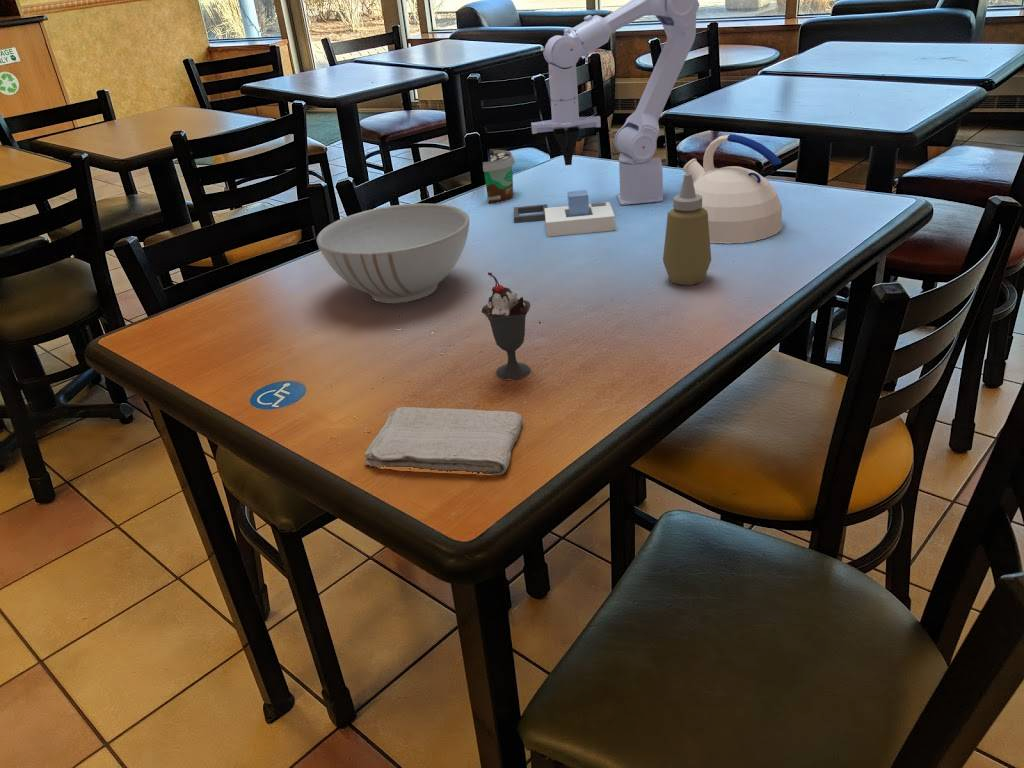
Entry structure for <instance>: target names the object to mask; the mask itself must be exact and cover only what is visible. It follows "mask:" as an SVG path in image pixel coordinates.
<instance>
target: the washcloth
mask: <svg viewBox="0 0 1024 768" xmlns="http://www.w3.org/2000/svg"><path fill="white" fill-rule="evenodd" d="M386 417H387V418H386V419H387V420H386V422H385V424H384V425H383V426H382V428H381V429H380V430H379V432H378V434H376V436H375V437H374V439H373V440H372V441H371V443H370V445H369V447H367V449H366V451H364V457H365V460H364V464H365V465H366V466H367V465H370V466H369V467H371V466H376V467H377V466H378V467H381V466H383V467H384V466H386V467H413V468H419V469H430V470H438V471H443V470H444V471H447V472H448V471H450V472H451V471H466V472H472V473H473V472H477V474H479V473H480V472H482V473H483V474H491V475H498V476H501V475H503V474H505V473H506V471H507V469H509V465H510V461H511V455H512V450H513V447H514V445H515V444H516V443H515V442H517V440H518V439H519V435H520V433H521V430H522V425H523V423H524V422H523V421H524V420H523V416H522V415H521V414H520V413H518V412H515V411H504V410H503V411H502V410H483V409H481V410H480V409H472V408H471V409H466V408H458V409H457V408H454V407H453V408H446V407H444V408H443V407H442V408H440V407H438V408H433V407H431V408H429V407H415V406H410V407H408V406H401V407H397V408H396V409H395V410H394V411H391V412H390V413H388V414H387V416H386ZM514 443H515V444H514ZM376 467H375V468H376ZM409 469H410V468H409ZM410 470H411V469H410Z"/></svg>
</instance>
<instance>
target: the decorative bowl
mask: <svg viewBox="0 0 1024 768" xmlns="http://www.w3.org/2000/svg"><path fill="white" fill-rule="evenodd" d="M469 228H470V217H469V214H467V212H466V211H464V210H463V209H461V208H459V207H456V206H452V205H447V204H439V203H405V204H397V205H396V204H395V205H389V206H383V207H377V208H373V209H372V208H371V209H368V210H363V211H361V212H357V213H354V214H353V213H352V214H350V215H347V216H345V217H342V218H339V219H338V220H335V221H334V222H332V223H330V224H328V225H327V226H325V227H324V228H323V229H322V230H321V231H320V232H319V233H318V234H317V236H316V244H317V247H318V249H319V250H320V252H321V254H322V256H323V258H324V259H325V260H326V263H328V265H329V267H331V268H332V270H333V271H334V272H335V273H336V274H337V275H338V276H339V277H340V278H341V279H342V280H343V281H345V282H346V283H347V284H349V285H350V286H352V287H354V288H355V289H357V290H359V291H360V292H363V293H366V294H368V295H370V296H372V297H373V298H374V299H376V300H378V301H377V302H379V301H382V302H381V303H383V302H389V303H388V304H401V303H400V302H405V303H409V302H408V301H410V302H414V301H413V300H415V301H417V300H416V299H418V300H421V299H423V297H424V298H426V297H428V296H430V295H432V294H433V293H434V292H435V291H436V290H437V289H438V287H439V285H438V284H439V283H440V282H442V281H443V280H444V279H445V278H446V277H447V276H448V275H449V274H450V273H451V271H453V269H454V267H455V266H456V265H457V263H458V261H459V260H460V258H461V255H462V253H463V251H464V248H465V246H466V242H467V238H468V234H469ZM429 294H430V295H429ZM425 296H426V297H425ZM372 297H371V298H372ZM373 298H372V299H373ZM420 298H421V299H420ZM374 299H373V300H374ZM376 300H375V301H376Z"/></svg>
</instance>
